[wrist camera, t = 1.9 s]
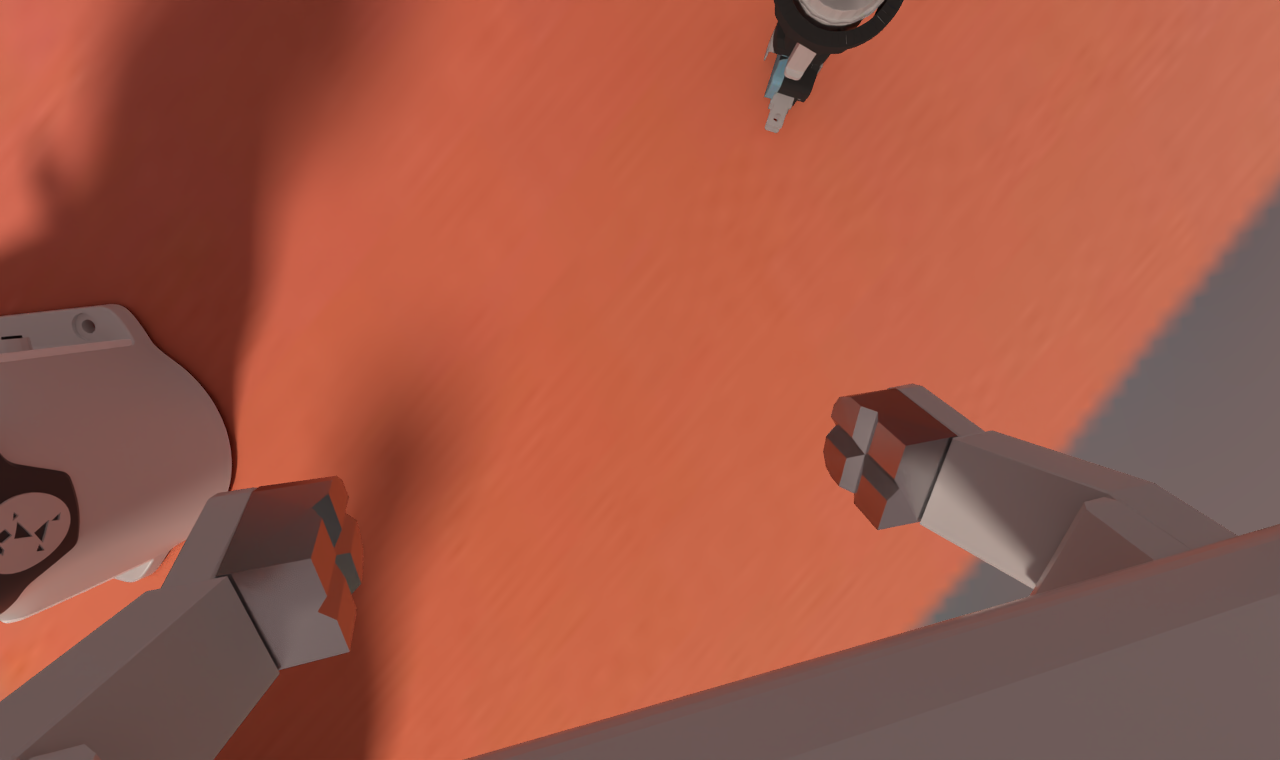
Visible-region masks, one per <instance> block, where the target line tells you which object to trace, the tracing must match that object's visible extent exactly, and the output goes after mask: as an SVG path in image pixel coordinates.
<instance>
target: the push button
mask: <svg viewBox="0 0 1280 760" xmlns="http://www.w3.org/2000/svg"><path fill="white" fill-rule="evenodd" d="M902 2H903V0H774V3H775V16H776V18H777V20H778V23H777V26H776V28H775V29H774V32H773V34H772V36H771V39H770V41H769V44H768V47H767V51H766V54H765V57H764V60H765V59H766V57H767V55H768V52H773V53H776V54H778V55H777V58H776V61H775V64H774V67H773V70H772V74H771V77H770V80H769V83H768V86H767V89H766V92H765V96H764V97H767V98H770V99H771V101H770V104H769V107H768V109H771V110H770V113H769V116H768V119H767V122H766V125H765V130H768V131H771V132H774V133H777V132H778V131H779V129H780V128H782V125H783V122H784V119H785V116H786V114H787V113H788V110H789V109H791V107H792V106H793V105H794V104H795V102H796V101H797V100H798V101H801V102H804V101H805V100H806V99H807V98H808V96H809V95H810V93H811V90H812V88H813V85H814V82H815V79H816V76H817V74H818V72H819V71H820V69H821V68H822V66H823V63H824V62H825V61H826V59H827V58H828V57H829V55H830V54H839V53H842V52H844V51H845V50H847V49H850V48H853V47H856V46H859V45H861V44H863V43H865V42H867V41H868V40H870V39H872V38H873V37H874V36H876V35H877V34H878V33H879V32H880V31H882V30H883V29H884V27H885V26H886V25H887V24H888V23H889V22H890V21H891V20H892V18H893V17H894V16H895V14H896V13H897V11H898V10H899V8H900V6H901V4H902ZM877 8H878V9H877ZM876 9H877V11H876V13H875V15H874V17H873V18H872V19H871V20H869V21H868V22H866V23H865V24H863V25H861V26H859V27H857V26H858V25H859V24H860V22H861V21H862V20H863V18H865V17H868V16H869V15H870V14H872V13H873V12H874V11H875V10H876ZM856 27H857V28H856ZM774 118H775V119H777V121H775V120H774Z"/></svg>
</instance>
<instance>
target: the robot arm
mask: <svg viewBox="0 0 1280 760" xmlns="http://www.w3.org/2000/svg"><path fill="white" fill-rule="evenodd" d="M94 325H95V328H94ZM831 418H832V419H833V421H834V423H835V424H836V426H835V427H834V428H833V429H832V430H831V432H830V433H829V434H828V435H827V436H826V440H825V445H824V450H823V453H824V459H825V464H826V468H827V470H828V472H829V474H830V476H831V477H832V478H833V480H834V481H835V482H836V483H837V484H838V486H840V487H842V488H844V489H846V490H848V491H850V492H852V493H854V504H855V505H856V506H857V507H858V509H859V510H860V511H861V512H862V513H863V514H864V515H865V516H866V518H867V519H868V520H869V521H870V522H871V523H872V524H873V526H874V527H875V528H876V529H877V530H880V529H885V528H890V527H895V526H900V525H905V524H910V523H915V522H920V521H921V522H920V524H921V525H922V526H924V527H926V528H928V529H929V530H931V531H933V532H935V533H936V534H938V535H940V536H942V537H943V538H945V539H947V540H949V541H950V542H952V543H954V544H956V545H957V546H959V547H961V548H963V549H964V550H966V551H968V552H969V553H971V554H973V555H975V556H976V557H978V558H980V559H982V560H983V561H985V562H987V563H989V564H990V565H993V566H994V567H996V568H997V569H999V570H1001V571H1003V572H1004V573H1006V574H1008V575H1010V576H1011V577H1013V578H1015V579H1017V580H1018V581H1020V582H1022V583H1023V584H1025V585H1027V586H1029V587H1030V588H1032V589H1033V591H1032V593H1031V595H1030V596H1029V597H1026V598H1022V599H1018V600H1015V601H1012V602H1008V603H1005V604H1001V605H998V606H994V607H991V608H987V609H984V610H980V611H977V612H973V613H970V614H967V615H963V616H960V617H956V618H953V619H949V620H946V621H942V622H939V623H935V624H932V625H928V626H925V627H922V628H918V629H915V630H911V631H908V632H904V633H901V634H897V635H894V636H890V637H887V638H884V639H880V640H877V641H873V642H870V643H866V644H863V645H859V646H856V647H852V648H849V649H846V650H842V651H839V652H835V653H832V654H828V655H825V656H821V657H818V658H814V659H811V660H808V661H804V662H801V663H797V664H794V665H790V666H787V667H783V668H780V669H776V670H773V671H770V672H766V673H763V674H759V675H756V676H752V677H749V678H745V679H742V680H738V681H735V682H732V683H728V684H725V685H721V686H718V687H714V688H711V689H707V690H704V691H700V692H697V693H693V694H690V695H686V696H683V697H680V698H676V699H673V700H669V701H666V702H662V703H659V704H655V705H652V706H648V707H645V708H641V709H638V710H634V711H631V712H627V713H624V714H620V715H617V716H614V717H610V718H607V719H603V720H600V721H596V722H593V723H589V724H586V725H582V726H579V727H575V728H572V729H568V730H565V731H561V732H558V733H554V734H551V735H548V736H544V737H541V738H537V739H534V740H530V741H527V742H523V743H520V744H516V745H513V746H509V747H506V748H502V749H499V750H495V751H492V752H488V753H485V754H482V755H478V756H475V757H471V758H468V759H464V760H1280V524H1278V525H1274V526H1271V527H1267V528H1264V529H1260V530H1257V531H1254V532H1250V533H1247V534H1243V535H1240V536H1237V535H1236V534H1234V533H1233V532H1231V531H1229V530H1228V529H1226V528H1225V527H1223V526H1222V525H1220V524H1218V523H1217V522H1215V521H1214V520H1212V519H1210V518H1209V517H1207V516H1205V515H1204V514H1202V513H1201V512H1199V511H1198V510H1196V509H1194V508H1193V507H1191V506H1190V505H1188V504H1186V503H1185V502H1183V501H1182V500H1180V499H1179V498H1177V497H1175V496H1174V495H1172V494H1171V493H1169V492H1168V491H1166V490H1164V489H1163V488H1161V487H1160V486H1158V485H1157V484H1155V483H1152V482H1149V481H1146V480H1143V479H1140V478H1137V477H1134V476H1131V475H1128V474H1124V473H1121V472H1118V471H1115V470H1112V469H1109V468H1106V467H1103V466H1100V465H1097V464H1094V463H1090V462H1087V461H1084V460H1081V459H1078V458H1075V457H1072V456H1069V455H1066V454H1063V453H1060V452H1057V451H1054V450H1051V449H1048V448H1044V447H1041V446H1038V445H1035V444H1032V443H1029V442H1026V441H1023V440H1020V439H1017V438H1014V437H1011V436H1008V435H1004V434H1001V433H998V432H995V431H987V432H985V431H983V430H982V429H981V428H979V427H978V426H977V425H975V424H974V423H972V422H971V421H970V420H968V419H967V418H966V417H964V416H963V415H961V414H960V413H959V412H957V411H956V410H954V409H953V408H952V407H950V406H949V405H948V404H946V403H945V402H943V401H942V400H941V399H939V398H938V397H937V396H935V395H934V394H932V393H931V392H930V391H928V390H927V389H926V388H924V387H923V386H920V385H916V384H908V385H903V386H897V387H892V388H888V389H886V390H880V391H874V392H867V393H861V394H855V395H849V396H843V397H839V399H838V400H837V401H836V403H835V404H834V407H833V410H832V414H831ZM231 472H232V457H231V448H230V442H229V438H228V434H227V431H226V428H225V425H224V423H223V420H222V418H221V416H220V414H219V412H218V410H217V408H216V406H215V404H214V403H213V401H212V400H211V398H210V397H209V395H208V394H207V392H206V391H205V390H204V388H203V387H202V386H201V385H200V384H199V383H198V381H197V380H196V379H195V378H194V377H193V376H192V375H191V374H190V373H189V372H188V371H186V370H185V369H184V368H183V367H182V366H180V365H179V364H178V363H176V362H175V361H174V360H172V359H171V358H170V357H168V356H167V355H166V354H164V353H163V352H162V351H161V350H159V349H158V348H157V347H156V346H155V345H154V344H153V343H152V341H151V340H150V338H149V336H148V335H147V333H146V332H145V330H144V329H143V327H142V326H141V325H140V323H139V322H138V321H137V319H136V318H135V317H134V316H133V314H132V313H131V312H130V311H129V310H127V309H126V308H125V307H123V306H121V305H118V304H105V305H96V306H87V307H77V308H68V309H59V310H50V311H41V312H32V313H22V314H13V315H4V316H0V621H2V622H4V623H11V622H16V621H20V620H23V619H25V618H28V617H30V616H32V615H35V614H37V613H39V612H41V611H43V610H46V609H48V608H50V607H52V606H54V605H57V604H59V603H61V602H63V601H65V600H68V599H70V598H72V597H74V596H76V595H78V594H81V593H83V592H85V591H87V590H89V589H91V588H94V587H96V586H98V585H100V584H102V583H104V582H106V581H109V580H111V579H113V578H114V579H118V580H121V581H125V582H135V581H138V580H140V579H142V578H145V577H147V576H149V575H151V574H152V573H154V572H155V571H156V570H157V568H158V567H159V566H160V565H161V563H162V562H163V560H164V559H165V557H166V556H167V554H168V552H169V551H170V550H171V549H172V548H173V547H175V546H176V545H178V544H179V543H181V542H183V541H185V540H186V542H185V543H184V545H183V547H182V549H181V551H180V553H179V555H178V557H177V559H176V560H175V562H174V564H173V566H172V568H171V570H170V572H169V574H168V575H167V577H166V579H165V581H164V583H163V585H162V587H161V589H156V590H151V591H146V592H145V593H143V594H142V595H141V596H140V597H138V598H137V599H136V600H134V601H133V602H132V603H130V604H129V605H128V606H126V607H125V608H124V609H122V610H121V611H120V612H118V613H117V614H116V615H114V616H113V617H112V618H110V619H109V620H108V621H106V622H105V623H104V624H103V625H101V626H100V627H99V628H97V629H96V630H95V631H93V632H92V633H91V634H89V635H88V636H87V637H85V638H84V639H83V640H81V641H80V642H79V643H77V644H76V645H75V646H73V647H72V648H71V649H69V650H68V651H67V652H66V653H64V654H63V655H62V656H60V657H59V658H58V659H56V660H55V661H54V662H52V663H51V664H50V665H48V666H47V667H46V668H44V669H43V670H42V671H40V672H39V673H38V674H36V675H35V676H34V677H32V678H31V679H30V680H29V681H27V682H26V683H25V684H23V685H22V686H21V687H19V688H18V689H17V690H15V691H14V692H13V693H11V694H10V695H9V696H7V697H6V698H5V699H3V700H2V701H1V702H0V760H214V758H215V757H216V756H217V754H218V753H219V752H220V751H221V749H222V748H223V747H224V745H225V744H226V743H227V741H228V740H229V739H230V738H231V736H232V735H233V734H234V732H235V731H236V730H237V728H238V727H239V726H240V725H241V723H242V722H243V721H244V719H245V718H246V717H247V716H248V714H249V713H250V712H251V710H252V709H253V708H254V706H255V705H256V704H257V703H258V701H259V700H260V699H261V697H262V696H263V695H264V693H265V692H266V691H267V690H268V688H269V687H270V686H271V684H272V683H273V682H274V680H275V679H276V678H277V677H278V675H279V674H280V673H279V671H278V670H281V669H285V668H289V667H293V666H297V665H301V664H304V663H308V662H312V661H316V660H320V659H324V658H328V657H332V656H336V655H340V654H343V653H347V652H350V648H351V642H352V636H353V630H354V624H355V618H356V612H357V609H356V606H355V603H354V600H353V598H352V595H351V594H352V593H353V592H354V591H355V590H356V589H357V588H358V587H359V585H360V584H361V581H362V574H363V567H364V566H363V544H362V538H361V533H360V529H359V526H358V523H357V520H356V519H354V518H353V517H351V516H349V515H348V514H346V508H347V503H348V498H349V496H348V494H347V491H346V489H345V486H344V483H343V481H342V479H340V478H339V477H338V476H332V477H325V478H317V479H310V480H303V481H296V482H288V483H281V484H274V485H266V486H259V487H258V488H247V489H240V490H234V491H228V489H229V485H230V480H231Z"/></svg>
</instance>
